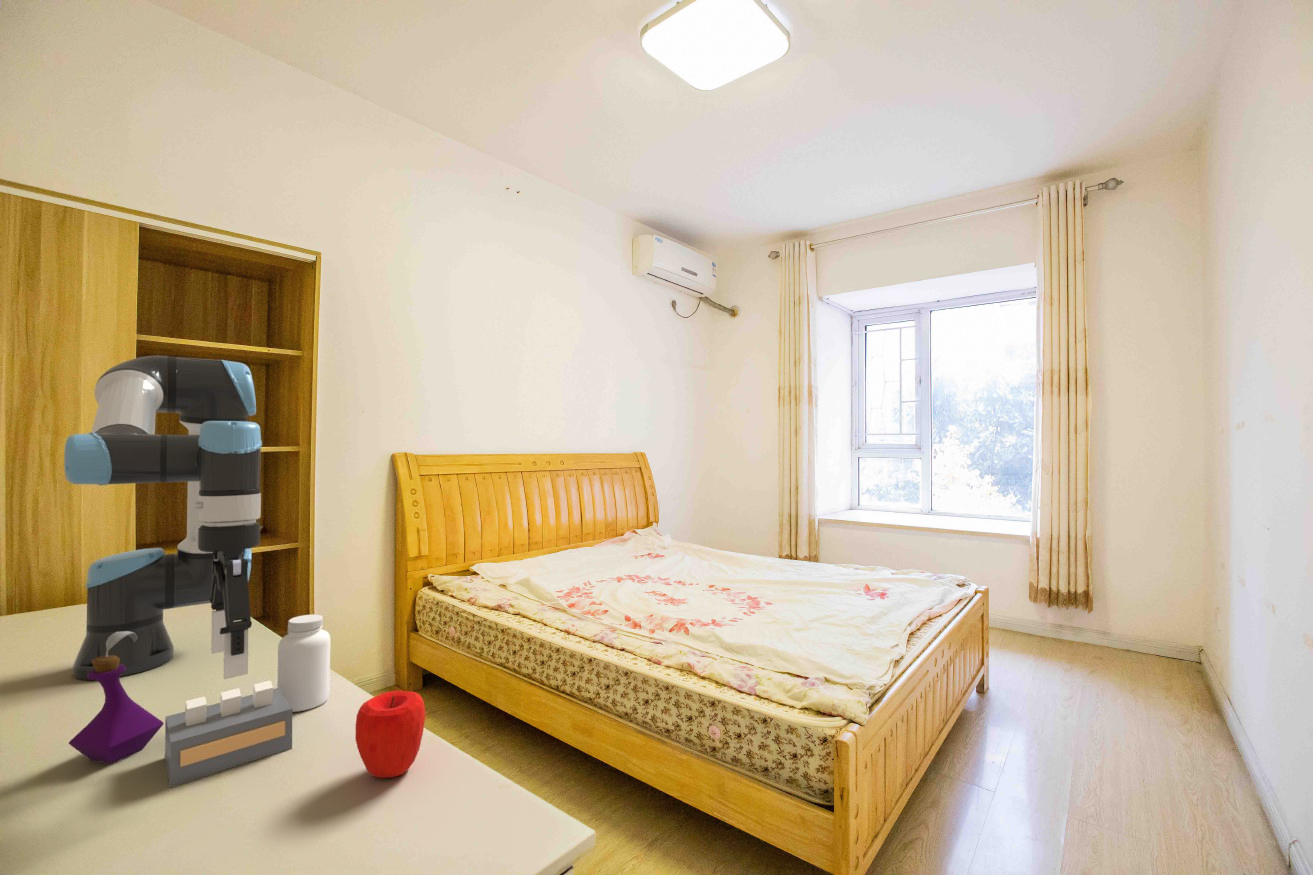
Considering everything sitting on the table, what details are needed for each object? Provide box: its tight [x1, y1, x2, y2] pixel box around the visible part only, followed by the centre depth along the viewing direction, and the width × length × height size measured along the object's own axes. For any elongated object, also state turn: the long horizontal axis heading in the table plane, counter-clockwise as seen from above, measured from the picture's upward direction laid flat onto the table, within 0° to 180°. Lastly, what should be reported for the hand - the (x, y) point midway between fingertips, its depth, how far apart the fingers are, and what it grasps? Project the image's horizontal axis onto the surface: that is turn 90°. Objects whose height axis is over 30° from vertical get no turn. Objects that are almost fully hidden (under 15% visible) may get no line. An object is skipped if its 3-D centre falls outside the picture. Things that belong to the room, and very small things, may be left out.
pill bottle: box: [276, 614, 331, 713], centre depth 100 cm, size 8×8×15 cm
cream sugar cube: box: [252, 680, 274, 708], centre depth 87 cm, size 2×2×3 cm
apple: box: [355, 690, 427, 779], centre depth 79 cm, size 9×9×11 cm
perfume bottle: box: [68, 631, 164, 764], centre depth 84 cm, size 8×8×18 cm
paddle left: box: [184, 696, 208, 727], centre depth 81 cm, size 2×2×3 cm
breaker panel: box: [164, 687, 293, 788], centre depth 84 cm, size 10×14×6 cm
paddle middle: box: [219, 687, 242, 717], centre depth 84 cm, size 2×2×3 cm
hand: (228, 662), depth 85 cm, fingers open, 13 cm apart
